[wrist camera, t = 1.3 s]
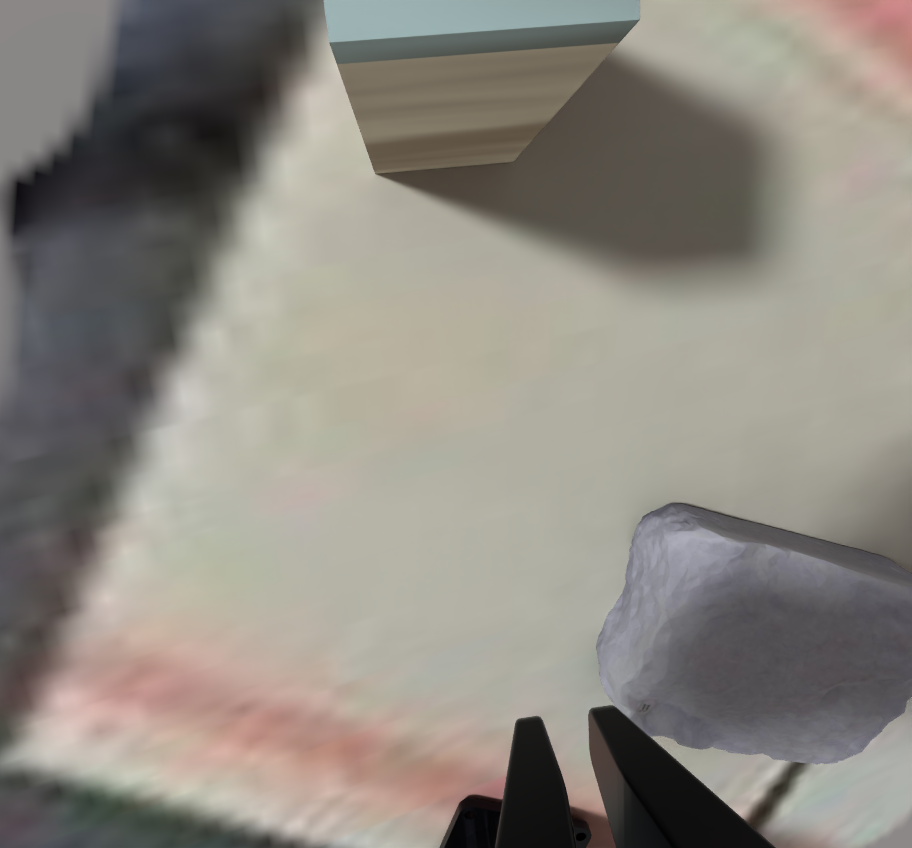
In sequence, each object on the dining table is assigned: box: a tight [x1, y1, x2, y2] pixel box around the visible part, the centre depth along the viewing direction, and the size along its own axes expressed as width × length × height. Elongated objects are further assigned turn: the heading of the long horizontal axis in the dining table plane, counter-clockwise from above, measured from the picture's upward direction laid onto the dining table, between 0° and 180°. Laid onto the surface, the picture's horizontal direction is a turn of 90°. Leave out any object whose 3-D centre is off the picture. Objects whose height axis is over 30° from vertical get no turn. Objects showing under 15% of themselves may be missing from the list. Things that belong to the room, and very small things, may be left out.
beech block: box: [324, 0, 640, 174], centre depth 12 cm, size 4×4×10 cm
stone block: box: [596, 503, 912, 764], centre depth 22 cm, size 12×5×10 cm
